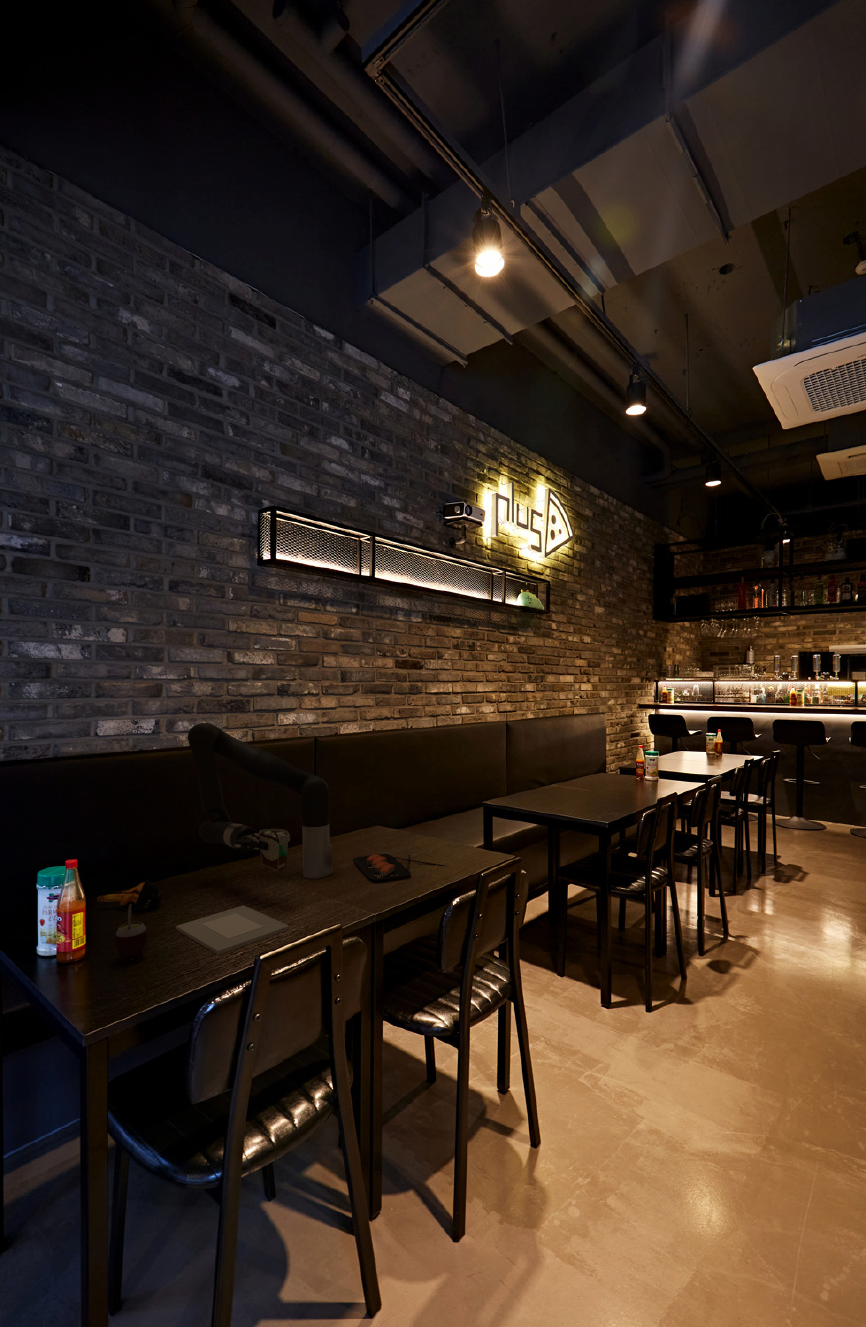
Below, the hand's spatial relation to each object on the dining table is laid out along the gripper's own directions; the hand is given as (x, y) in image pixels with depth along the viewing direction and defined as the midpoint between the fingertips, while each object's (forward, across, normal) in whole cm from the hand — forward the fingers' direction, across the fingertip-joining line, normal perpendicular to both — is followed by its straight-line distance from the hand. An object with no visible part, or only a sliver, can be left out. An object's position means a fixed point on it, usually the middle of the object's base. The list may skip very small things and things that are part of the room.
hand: (269, 846), depth 182 cm
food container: (0, +3, +6) cm, 7 cm away
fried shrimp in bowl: (-31, -28, +18) cm, 46 cm away
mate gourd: (+6, -41, +18) cm, 45 cm away
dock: (+8, -16, +18) cm, 25 cm away
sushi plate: (+2, +52, +18) cm, 55 cm away
